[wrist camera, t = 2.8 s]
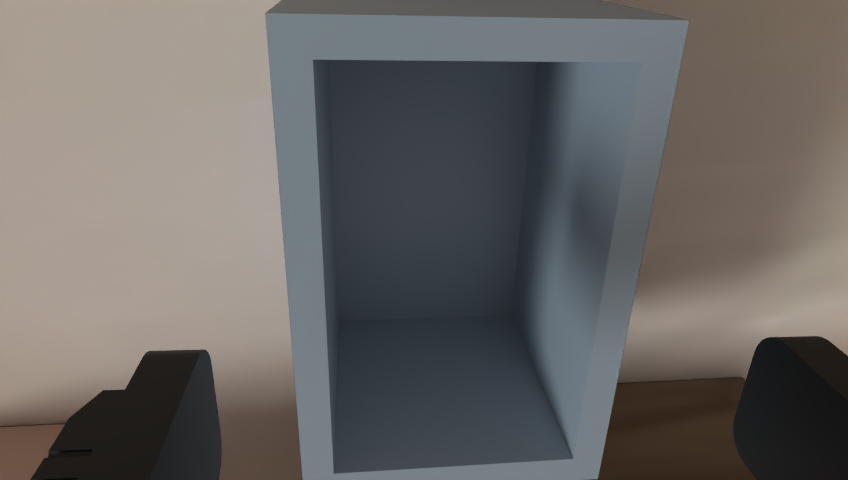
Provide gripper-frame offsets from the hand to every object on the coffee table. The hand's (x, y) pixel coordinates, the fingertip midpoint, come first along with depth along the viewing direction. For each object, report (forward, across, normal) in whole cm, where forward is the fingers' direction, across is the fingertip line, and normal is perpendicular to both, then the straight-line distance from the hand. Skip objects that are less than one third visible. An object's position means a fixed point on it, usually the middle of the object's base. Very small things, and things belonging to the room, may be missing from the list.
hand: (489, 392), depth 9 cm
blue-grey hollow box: (+8, 0, -1) cm, 8 cm away
